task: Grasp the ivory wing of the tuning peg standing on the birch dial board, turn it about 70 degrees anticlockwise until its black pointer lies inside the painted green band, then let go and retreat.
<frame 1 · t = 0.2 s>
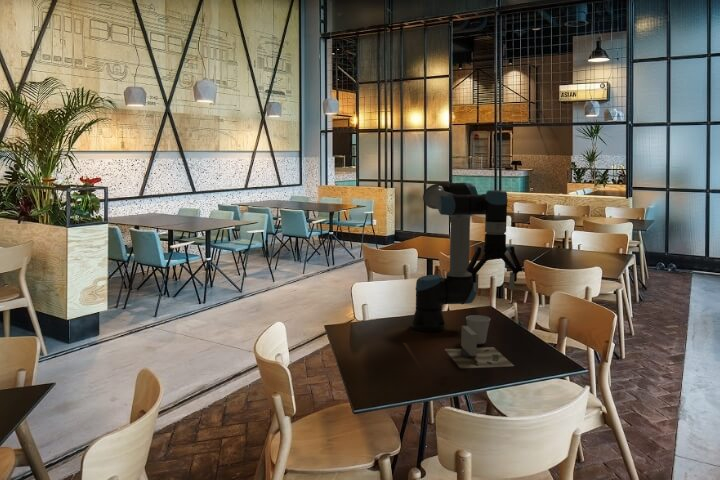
hand: (493, 290, 217), 27 cm above the table, fingers open, 13 cm apart
dial board: (477, 360, 222), on the table
cup: (477, 344, 242), on the table
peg: (470, 344, 221), point 6 cm above the table, hinge at 0.0°
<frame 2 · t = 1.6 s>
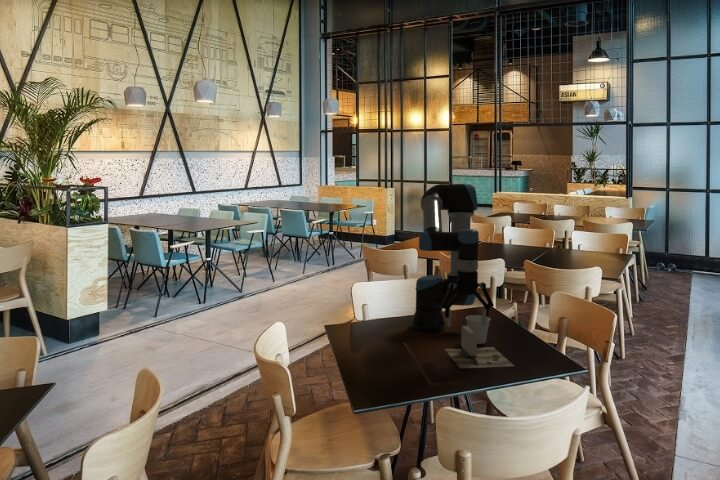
hand: (466, 325, 225), 12 cm above the table, fingers open, 13 cm apart
nothing on the table moved.
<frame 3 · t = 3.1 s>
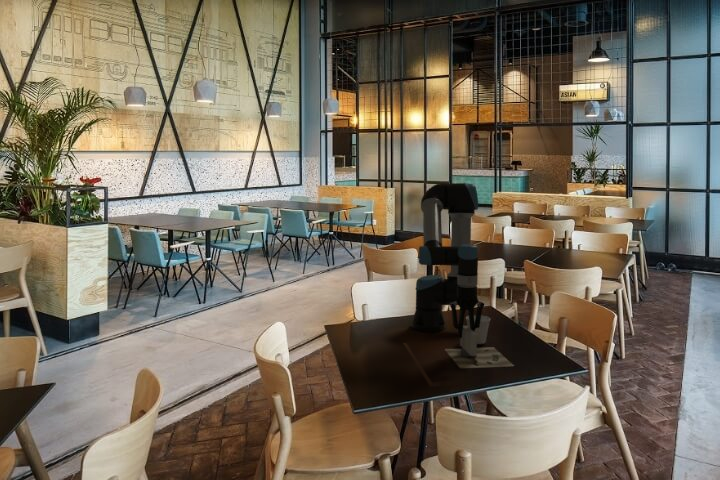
hand: (465, 345, 227), 4 cm above the table, fingers closed on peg, 2 cm apart
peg: (470, 344, 221), point 6 cm above the table, hinge at 0.0°, touching gripper
everything else where it was.
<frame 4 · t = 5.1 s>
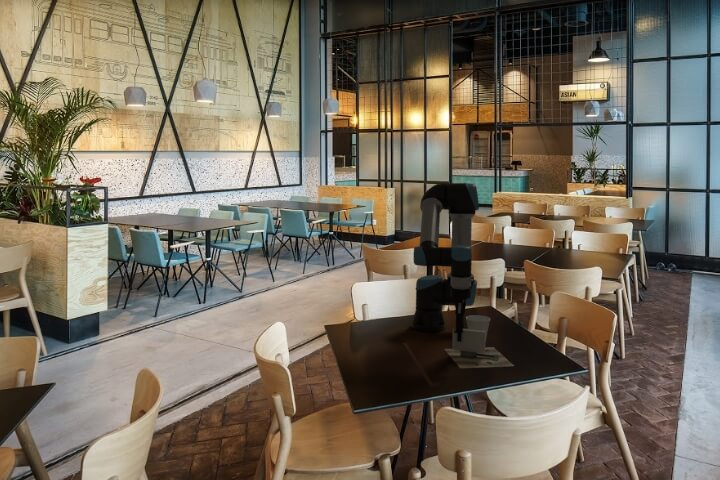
hand: (459, 347, 224), 4 cm above the table, fingers closed on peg, 3 cm apart
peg: (473, 343, 222), point 6 cm above the table, hinge at 63.1°, touching gripper
everything else where it was.
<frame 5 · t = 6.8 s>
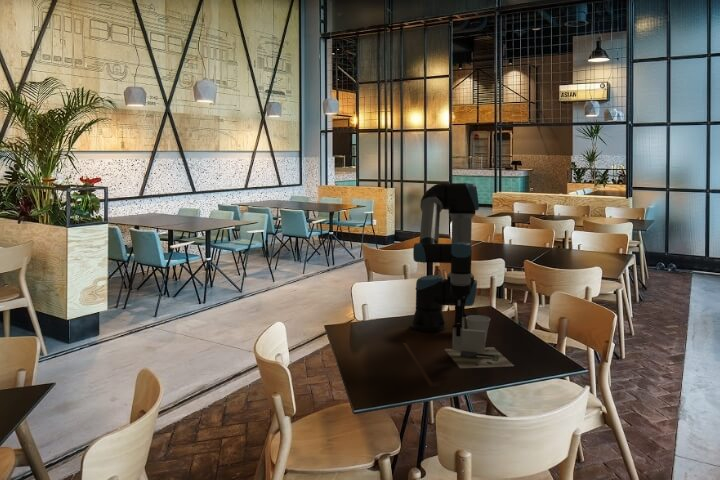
hand: (459, 338, 224), 7 cm above the table, fingers open, 13 cm apart
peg: (473, 343, 222), point 6 cm above the table, hinge at 66.8°
everything else where it was.
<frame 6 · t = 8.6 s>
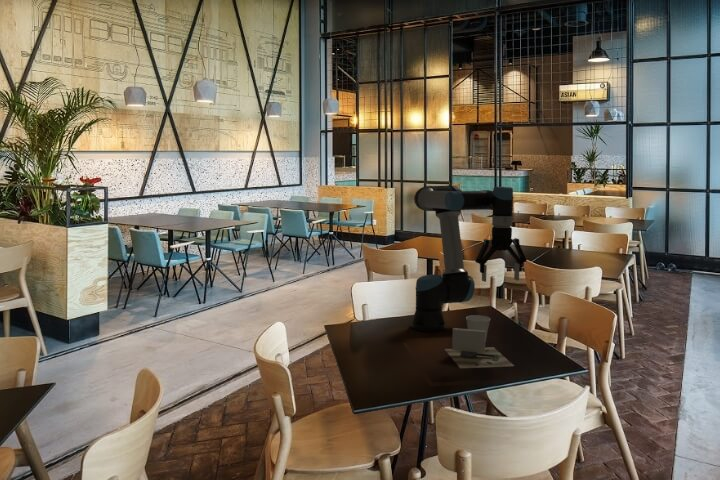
hand: (500, 280, 232), 28 cm above the table, fingers open, 13 cm apart
nothing on the table moved.
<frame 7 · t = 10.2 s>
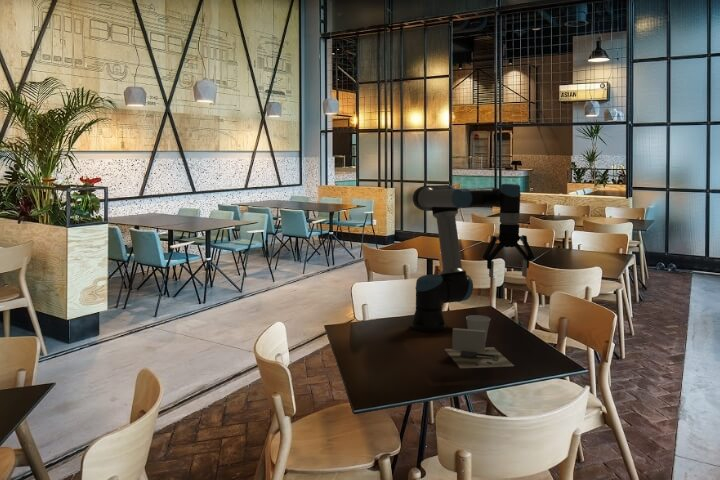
hand: (507, 277, 234), 29 cm above the table, fingers open, 13 cm apart
nothing on the table moved.
at the end: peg at +67° (first picture: +0°); the gripper is holding nothing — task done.
